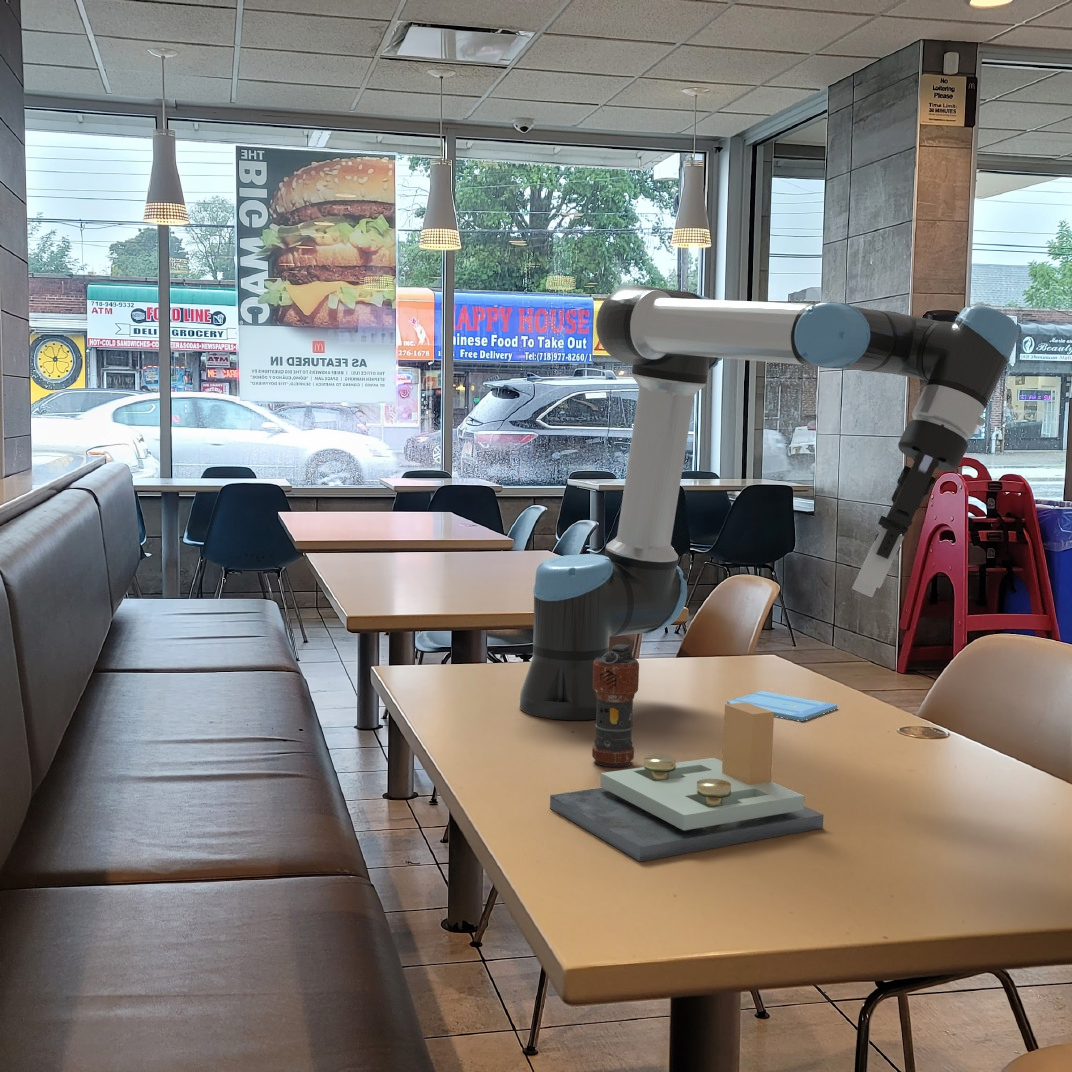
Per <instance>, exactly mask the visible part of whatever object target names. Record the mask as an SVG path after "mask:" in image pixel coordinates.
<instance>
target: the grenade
mask: <svg viewBox="0 0 1072 1072" xmlns="http://www.w3.org/2000/svg"><path fill="white" fill-rule="evenodd" d="M607 654H608V655H607ZM605 655H607V656H605ZM639 675H640V662H639V661H638V659H636V658H635V657H634V655H633V653H632V649H631V645H630V644H621V643H618V644H616V645H613V646H611V651H609V652H608V653H606V654H604V655H603V656H601V657H597V658H596V659H595V660H594V662H593V690H594V691H595V696H596V697H597V713H596V719H595V720H596V721H595V722H596V723H595V724H594V725H595V738H594V742H593V743H594V744H593V745H592V748H591V750H592V751H591V755H592V756H591V757H592V758H593V759H594V762H595V763H596V764H597V765H599V766H604V767H609V768H622V767H626V766H627V767H628V766H629V765H631V761H632V760H634V758H635V748H634V745H633V742H632V737H633V736H632V735H633V734H632V733H633V728H634V726H633V707H634V706H633V705H634V698H635V694H636V693H637V692H638V690H639V683H640V682H639V681H640V679H639V678H640V677H639Z"/></svg>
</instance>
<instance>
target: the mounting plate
mask: <svg viewBox="0 0 1072 1072" xmlns="http://www.w3.org/2000/svg"><path fill="white" fill-rule="evenodd" d="M676 763H677V760H676V758H674V757H672V756H668V755H665V754H663V755H662V754H653V755H652V754H651V755H647V756H645V757H644V759H643V767H644V768H645V769H646V770H648V771H652V772H653V773H652V781H654V782H655V781H662V780H666V776H667V772H672V771H675V769H676ZM697 793H698V794H699V795H701V796H704V797H706V807H708V808H713V807H719V806H721V798H725V797H729V796H730V795H731V784H730V783H729V782H727V781H724V780H720V779H702V780H699V781H697ZM549 809H551V810H553V811H555V812H556V813H558V814H559V815H561V816H562V817H564V818H566V819H567V820H569V821H571V822H572V823H574V824H575V825H578V826H579V827H581V829H582V828H583V830H585V831H588V832H589V833H591V834H592V835H594V836H596V837H597V838H599V839H601V840H602V841H604V842H606V843H608V844H609V845H610V846H612V847H614V848H616V849H617V850H619V851H620V852H622V853H624V854H626V855H627V856H629V857H631V858H633V859H635V860H636V861H637V862H639V863H640V862H646V861H652V860H656V859H662V858H663V859H664V858H666V857H667V858H668V857H673V856H678V855H679V856H680V855H684V854H690V853H695V852H700V851H701V852H702V851H706V850H711V849H717V848H721V847H727V846H732V845H739V844H745V843H749V842H754V841H759V840H765V839H771V838H777V837H782V836H788V835H793V834H798V833H804V832H809V831H814V830H821V829H823V828H824V813H820V812H818V811H816V810H813V809H811V808H809V807H807V806H805V805H804V809H803V810H800V811H794V812H788V813H782V814H777V815H771V816H765V817H759V818H753V819H748V820H742V821H736V822H730V823H724V824H719V825H713V826H707V827H701V828H695V829H690V830H682V829H680V828H678V827H676V826H674V825H672V824H670V823H668V822H667V821H665V820H663V819H661V818H659V817H657V816H655V815H653V814H651V813H649V812H648V811H646V810H644V809H642V808H640V807H638V806H636V805H634V804H632V803H630V802H629V801H627V800H625V799H623V798H621V797H619V796H617V795H615V794H613V793H611V792H610V791H608V790H606V789H604V788H602V787H597V788H596V787H595V788H590V789H585V790H584V789H581V790H576V791H570V792H569V791H568V792H563V793H555V794H550V798H549Z"/></svg>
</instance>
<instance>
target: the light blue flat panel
mask: <svg viewBox="0 0 1072 1072" xmlns="http://www.w3.org/2000/svg"><path fill="white" fill-rule="evenodd" d="M744 702H746V703H749V704H752V705H755V706H758V707H761V708H764V709H767V710H770V711H773V712H774V716H778V717H783V718H788V719H794V720H799V721H804V720H806V719H809V720H811V719H810V718H812V717H815V716H817V717H819V716H818V715H820V714H823V713H826V712H828V711H831V710H834V709H837V710H838V707H839V706H838V704H836V703H832V702H831V703H830V702H824V701H819V700H814V699H809V698H808V699H807V698H802V697H798V696H797V697H796V696H792V695H785V694H780V693H775V692H769V691H764V690H761V691H758V692H754V693H751V694H747V695H743V696H740V697H737V698H734V699H731V700H727V702H726V704H735V703H744ZM834 711H835V710H834ZM831 712H832V711H831ZM828 713H829V712H828ZM826 714H827V713H826ZM823 715H824V714H823ZM820 716H821V715H820ZM778 717H777V718H778ZM783 718H782V719H783ZM815 718H816V717H815ZM788 719H787V720H788ZM812 719H813V718H812ZM806 721H807V720H806ZM804 722H805V721H804Z"/></svg>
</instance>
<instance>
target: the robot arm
mask: <svg viewBox="0 0 1072 1072" xmlns="http://www.w3.org/2000/svg"><path fill="white" fill-rule="evenodd" d="M595 322H596V324H595V329H596V335H597V339H598V341H599V343H600V345H601V347H602V348H603V349H604V351H605V352H606V353H607V354H608V355H609V356H610V357H612V358H614V359H616V360H617V361H619V362H622V363H624V364H629V365H632V368H631V376H632V378H633V379H634V381H635V383H637V385H638V395H637V401H636V408H635V413H634V421H633V426H632V427H633V428H632V433H631V440H630V448H629V454H628V460H627V466H626V475H625V479H624V486H623V487H624V488H623V494H622V502H621V508H620V515H619V521H618V528H617V535H616V537H615V538H613V539H612V540H611V541H609V542H608V543H606V545H605V549H604V555H603V554H595V553H594V554H591V553H582V554H581V553H579V554H575V555H574V554H567V555H560V556H556V557H552V558H548V559H546V560H544V561H542V562H541V563H540V564H539V565H538V567H537V569H536V572H535V580H534V581H535V582H534V586H533V589H532V590H533V637H532V659H531V662H530V665H529V668H528V671H527V673H526V677H525V679H524V683H523V685H522V688H521V691H520V697H519V699H520V700H519V708H520V710H521V711H523V712H525V713H526V714H529V715H532V716H536V717H541V718H546V719H552V720H554V719H555V720H565V721H567V720H568V721H582V720H584V721H585V720H596V713H597V697H596V696H595V691H594V690H593V662H594V660H595V659H596V658H597V657H601V656H603V655H604V654H606V653H608V652H610V637H619V636H626V635H635V634H650V633H653V632H656V631H659V630H663V629H665V628H667V627H669V626H670V625H672V624H674V623H675V622H676V621H677V619H678V618H679V617H680V615H681V614H682V612H683V610H684V608H685V606H686V602H687V596H688V584H687V580H686V579H685V578H684V577H683V576H684V572H683V570H682V568H681V567H679V565H678V561H679V555H678V553H677V552H676V550H675V549H674V548H673V546H672V544H671V543H672V537H673V531H674V526H675V519H676V518H675V517H676V514H677V513H676V512H677V507H678V500H679V499H678V498H679V494H680V486H681V482H682V481H681V479H682V476H683V475H682V474H683V468H684V463H685V462H684V461H685V455H686V449H687V442H688V436H689V432H690V430H689V429H690V424H691V419H692V411H693V406H694V399H695V395H696V393H698V392H699V391H700V390H702V389H704V388H705V387H706V386H707V380H708V374H709V371H710V370H712V369H714V368H715V367H717V366H718V365H719V363H720V361H722V360H723V359H728V360H729V359H731V360H741V361H743V360H744V361H755V362H764V363H765V362H766V363H777V364H778V363H779V364H788V365H789V364H790V365H800V366H801V365H802V366H811V367H819V368H823V369H836V370H837V369H842V370H855V371H862V372H872V373H873V372H874V373H879V374H881V373H882V374H890V375H897V376H903V377H906V378H907V377H908V378H913V379H918V380H924V381H926V384H925V386H924V387H923V389H922V391H921V394H920V396H919V398H918V400H917V402H916V404H915V406H914V409H913V410H912V413H911V416H912V417H911V418H912V420H909V421H908V422H907V424H906V427H905V429H904V431H903V433H902V435H901V437H900V439H899V441H898V445H897V446H898V449H899V451H900V452H901V453H902V454H903V455H904V456H906V457H908V458H911V459H912V460H913V464H912V465H911V467H910V466H908V465H906V464H905V465H904V466H903V469H902V471H901V472H900V475H899V477H898V479H897V485H896V488H895V490H894V492H893V494H892V496H891V502H892V505H891V507H890V509H889V511H888V513H887V515H886V517H885V516H883V515H881V516H880V518H879V520H878V522H877V525H879V526H881V527H880V529H879V532H878V533H876V535H875V538H874V542H873V543H872V544H871V547H870V549H869V551H868V552H867V556H866V557H865V560H864V562H863V564H862V566H861V568H860V570H859V573H858V575H857V576H856V579H855V581H854V583H853V585H852V586H851V589H852V590H854V591H856V592H858V593H860V594H863V595H865V596H867V597H868V598H869V597H870V598H873V597H874V595H875V592H876V589H877V588H878V589H881V587H882V585H883V584H884V581H885V579H886V578H887V577H886V576H887V575H888V572H889V570H890V569H891V566H892V564H893V562H894V559H895V558H896V556H897V554H899V552H900V550H901V548H902V547H901V545H902V543H903V540H904V539H905V534H907V532H908V531H909V527H910V526H911V525H912V523H913V518H914V516H915V514H916V512H917V511H918V510H919V509H920V506H921V504H922V503H924V501H925V499H926V497H927V495H928V494H929V493H930V491H932V488H933V486H934V484H935V482H936V479H937V477H934V476H933V474H934V472H935V470H936V469H937V470H939V471H943V472H954V471H957V470H958V468H959V466H960V465H961V462H962V460H963V458H964V456H965V453H966V452H967V449H968V448H969V446H968V441H967V440H970V439H972V437H973V435H974V434H975V431H976V428H977V426H980V427H982V426H984V425H985V424H986V419H985V418H983V417H981V416H983V414H984V412H985V410H986V408H987V405H988V403H989V400H990V399H991V396H992V395H993V392H994V390H995V389H996V386H997V385H998V383H999V381H1000V379H1001V376H1002V374H1003V372H1004V371H1005V369H1006V366H1007V365H1008V364H1010V361H1011V360H1010V358H1011V356H1012V352H1013V351H1014V347H1015V346H1016V343H1017V341H1018V338H1019V335H1020V330H1019V326H1018V325H1017V323H1016V322H1015V321H1014V319H1013V318H1011V317H1010V316H1009V315H1008V314H1006V313H1004V312H1002V311H999V310H998V309H995V308H992V307H988V306H983V305H978V304H977V305H969V306H965V307H964V308H962V310H961V311H960V313H959V315H958V316H957V317H956V318H955V320H954V322H953V321H952V322H950V321H941V320H940V321H939V320H933V319H930V318H925V317H920V316H914V315H910V314H903V313H900V312H896V311H890V310H878V309H874V308H873V309H872V308H871V309H869V308H865V307H864V308H863V307H859V306H854V305H850V304H849V303H845V302H838V301H837V302H834V301H833V302H832V301H830V302H829V301H828V302H820V303H817V304H813V303H801V302H800V303H799V302H798V303H797V302H796V303H795V302H773V301H752V300H751V301H749V300H748V301H747V300H730V299H729V300H725V299H723V300H722V299H711V298H709V297H707V296H704V295H701V294H697V293H694V292H690V291H688V290H686V291H682V290H681V291H680V290H677V289H676V290H674V289H668V288H661V287H653V286H650V285H649V286H648V285H643V284H633V285H632V284H631V285H625V286H622V287H619V288H618V289H615V290H614V291H612V292H611V293H610V294H609V295H608V296H606V298H605V299H604V300H603V302H602V304H601V305H600V307H599V309H598V312H597V316H596V321H595ZM607 655H608V654H607ZM607 655H605V656H607Z"/></svg>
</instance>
